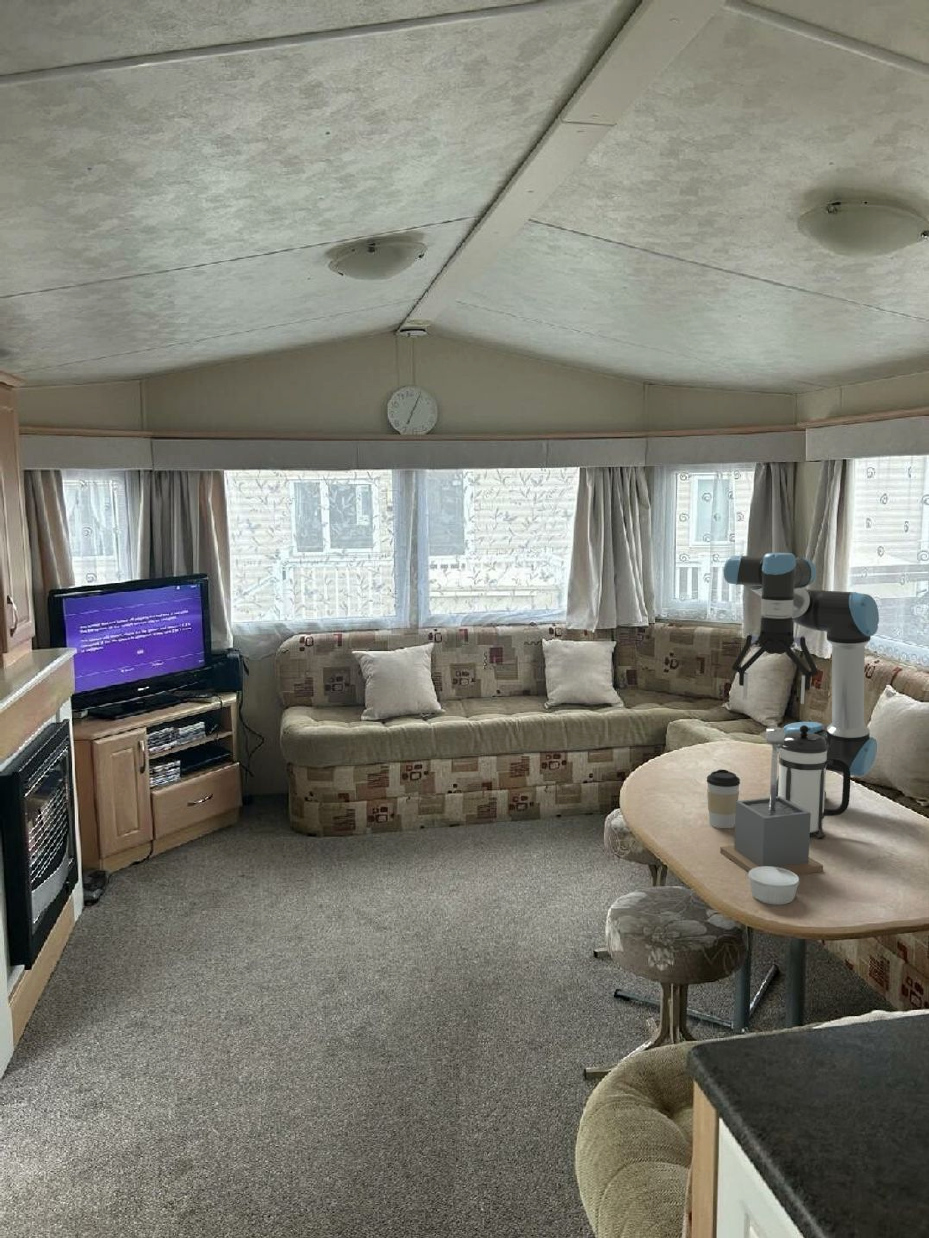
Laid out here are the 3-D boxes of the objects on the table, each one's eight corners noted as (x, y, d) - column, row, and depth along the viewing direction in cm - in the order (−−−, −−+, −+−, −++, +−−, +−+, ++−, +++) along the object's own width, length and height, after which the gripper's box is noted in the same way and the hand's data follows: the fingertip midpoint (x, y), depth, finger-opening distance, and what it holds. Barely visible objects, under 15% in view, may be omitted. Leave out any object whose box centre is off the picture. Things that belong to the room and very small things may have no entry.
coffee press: (807, 846, 254) (812, 736, 250) (759, 828, 267) (763, 723, 263) (849, 833, 263) (854, 726, 259) (801, 816, 277) (805, 714, 272)
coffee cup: (739, 831, 266) (741, 778, 263) (706, 829, 267) (707, 777, 265) (737, 819, 274) (739, 768, 272) (704, 817, 276) (706, 767, 274)
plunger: (777, 804, 248) (781, 723, 245) (800, 816, 239) (804, 732, 236) (745, 807, 246) (747, 726, 243) (766, 820, 237) (769, 735, 234)
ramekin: (808, 899, 223) (809, 877, 222) (778, 911, 217) (778, 889, 216) (768, 882, 232) (768, 862, 231) (737, 894, 226) (738, 873, 225)
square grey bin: (780, 844, 255) (782, 792, 253) (822, 871, 238) (825, 815, 236) (720, 852, 251) (722, 798, 249) (758, 879, 234) (761, 822, 231)
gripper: (722, 615, 237) (720, 700, 240) (831, 620, 228) (826, 707, 231) (726, 611, 244) (723, 693, 247) (831, 616, 235) (827, 700, 238)
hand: (773, 700), depth 239 cm, fingers open, 13 cm apart
